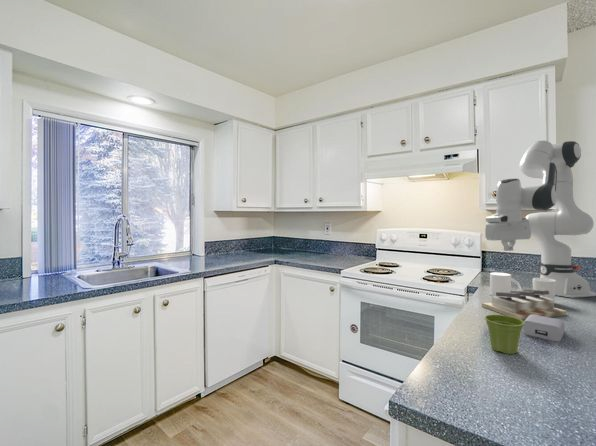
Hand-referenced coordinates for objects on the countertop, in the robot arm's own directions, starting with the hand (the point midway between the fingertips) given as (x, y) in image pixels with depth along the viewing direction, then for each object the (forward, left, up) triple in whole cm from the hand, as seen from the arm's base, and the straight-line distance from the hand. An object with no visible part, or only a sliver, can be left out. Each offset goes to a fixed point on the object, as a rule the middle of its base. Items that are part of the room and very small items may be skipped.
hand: (508, 250), depth 128 cm
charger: (+7, +29, -24) cm, 38 cm away
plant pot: (+29, +42, -23) cm, 56 cm away
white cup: (-18, -4, -23) cm, 30 cm away
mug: (-8, -14, -23) cm, 28 cm away
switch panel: (-1, +7, -23) cm, 24 cm away
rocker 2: (-1, +7, -17) cm, 18 cm away
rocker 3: (-8, +5, -17) cm, 19 cm away
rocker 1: (+6, +9, -17) cm, 20 cm away
